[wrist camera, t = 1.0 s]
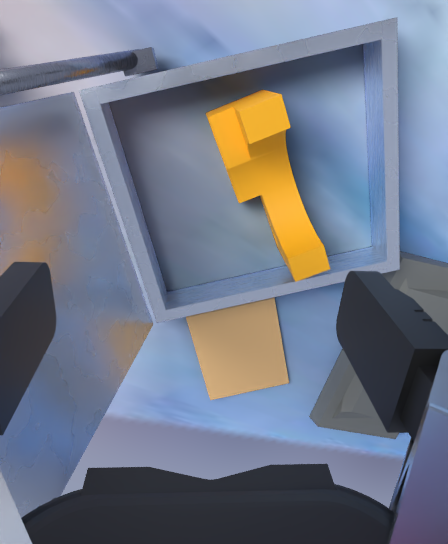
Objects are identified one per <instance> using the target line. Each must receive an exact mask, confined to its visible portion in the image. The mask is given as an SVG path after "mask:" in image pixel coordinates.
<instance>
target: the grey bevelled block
mask: <svg viewBox="0 0 448 544" xmlns="http://www.w3.org/2000/svg"><path fill="white" fill-rule="evenodd" d="M399 253H400V270H395V271H391V272H386V273H382V275H383V276H384V278H385V279H386V280H387V281H388V282H389V283H390V284H391V285H392V286H393V288H394V289H398V290H399V291H401V292H403V293H404V294H406V295H408V296H410V297H411V298H413V299H414V300H415V301H416V302H417V303H418V304H419V305H420V306H421V307H422V308H423V309H424V312H426V313H427V314H428V315H429V316H430V317H431V318H432V319H433V322H436V323H437V324H438V325H439V326H440V327H441V328H442V330H443V331H444V332H445V333H446V334H447V335H448V263H445V262H441V261H437V260H433V259H429V258H425V257H421V256H417V255H413V254H409V253H405V252H401V251H399ZM309 417H310V418H311V419H312V420H313V422H314V423H315V424H316V425H317V426H318V427H324V428H330V429H336V430H343V431H349V432H355V433H361V434H367V435H373V436H379V437H386V438H392V439H396V437H397V436H398V434H399V433H387V431H386V429H385V427H384V425H383V423H382V421H381V420H380V418H379V416H378V414H377V412H376V410H375V408H374V406H373V405H372V403H371V401H370V399H369V397H368V395H367V393H366V391H365V389H364V388H363V386H362V384H361V382H360V380H359V378H358V376H357V374H356V373H355V371H354V369H353V367H352V365H351V363H350V361H349V359H348V357H347V356H346V354H345V352H344V350H343V349H342V351H341V353H340V355H339V357H338V359H337V361H336V363H335V365H334V367H333V369H332V371H331V373H330V375H329V377H328V379H327V381H326V383H325V385H324V387H323V389H322V391H321V393H320V396H319V398H318V400H317V402H316V404H315V406H314V408H313V410H312V412H311V414H310V416H309Z"/></svg>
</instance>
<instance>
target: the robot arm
mask: <svg viewBox="0 0 448 544" xmlns="http://www.w3.org/2000/svg"><path fill="white" fill-rule="evenodd" d="M55 330H56V309H55V302H54V295H53V288H52V281H51V274H50V269H49V266H48V264H47V263H45V262H13V263H12V264H11V265H10V266H9V268H8V269H7V270H6V271H5V272H4V273H3V274H2V275H1V276H0V435H3V434H4V432H5V430H6V428H7V426H8V425H9V423H10V421H11V419H12V417H13V415H14V413H15V411H16V409H17V407H18V405H19V403H20V401H21V399H22V397H23V395H24V394H25V392H26V390H27V388H28V386H29V384H30V382H31V380H32V378H33V376H34V374H35V372H36V370H37V368H38V366H39V364H40V362H41V361H42V359H43V357H44V355H45V353H46V351H47V349H48V347H49V345H50V343H51V341H52V339H53V337H54V334H55ZM336 330H337V337H338V340H339V342H340V344H341V346H342V348H343V350H344V352H345V354H346V356H347V357H348V359H349V361H350V363H351V365H352V367H353V369H354V371H355V373H356V374H357V376H358V378H359V380H360V382H361V384H362V386H363V388H364V389H365V391H366V393H367V395H368V397H369V399H370V401H371V403H372V405H373V406H374V408H375V410H376V412H377V414H378V416H379V418H380V420H381V421H382V423H383V425H384V427H385V429H386V431H387V433H405V432H408V433H409V434H410V436H411V440H410V443H409V446H408V448H407V451H406V455H405V458H404V461H403V464H402V468H401V471H400V474H399V477H398V480H397V483H396V487H395V490H394V493H393V496H392V500H391V503H390V506H389V508H387V507H386V506H384V505H383V504H381V503H379V502H377V501H376V500H374V499H372V498H370V497H368V496H366V495H364V494H362V493H359V492H357V491H355V490H352V489H349V488H346V487H343V486H340V485H336V484H334V482H333V479H332V476H331V474H330V470H329V468H328V465H327V464H294V465H269V466H265V467H261V468H257V469H253V470H250V471H246V472H242V473H238V474H235V475H231V476H227V477H223V478H220V479H215V480H207V479H201V478H197V477H192V476H188V475H183V474H179V473H174V472H169V471H165V470H160V469H156V468H151V467H121V468H88V470H87V474H86V477H85V481H84V485H83V489H80V490H77V491H73V492H70V493H68V494H65V495H63V496H60V497H57V498H55V499H53V500H51V501H49V502H47V503H45V504H43V505H41V506H39V507H37V508H36V509H34V510H32V511H31V512H29V513H27V514H26V515H25V516H23V517H22V518H21V517H20V515H19V512H18V510H17V508H16V505H15V503H14V501H13V498H12V496H11V494H10V492H9V489H8V487H7V485H6V482H5V480H4V478H3V475H2V473H1V471H0V544H448V335H447V334H446V333H445V332H444V331H443V330H442V328H441V327H440V326H439V325H438V324H437V323H436V322H433V319H432V318H431V317H430V316H429V315H428V314H427V313H426V312H424V309H423V308H422V307H421V306H420V305H419V304H418V303H417V302H416V301H415V300H414V299H413V298H411V297H410V296H408V295H406V294H404V293H403V292H401V291H399V290H398V289H394V288H393V286H392V285H391V284H390V283H389V282H388V281H387V280H386V279H385V278H384V276H383V275H382V274H381V273H380V272H378V271H350V272H349V273H348V274H347V276H346V279H345V284H344V288H343V293H342V298H341V302H340V307H339V312H338V316H337V323H336Z"/></svg>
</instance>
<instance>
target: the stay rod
mask: <svg viewBox="0 0 448 544" xmlns="http://www.w3.org/2000/svg"><path fill="white" fill-rule="evenodd" d="M137 50H140V49H136V50H130V51H123V52H116V53H109V54H103V55H96V56H89V57H82V58H76V59H69V60H62V61H55V62H49V63H42V64H35V65H28V66H22V67H15V68H8V69H1V70H0V95H3V94H8V93H13V92H18V91H23V90H29V89H34V88H39V87H44V86H49V85H54V84H59V83H64V82H69V81H74V80H79V79H84V78H89V77H94V76H99V75H104V74H110V73H115V72H120V71H125V70H130V69H133V68H134V67H135V66H136V65H137V63H138V58H137V56H136V54H135V53H133V52H132V51H137Z"/></svg>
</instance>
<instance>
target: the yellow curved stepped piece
mask: <svg viewBox="0 0 448 544" xmlns="http://www.w3.org/2000/svg"><path fill="white" fill-rule="evenodd" d="M206 116H207V118H208V121H209V124H210V127H211V129H212V132H213V135H214V137H215V140H216V143H217V146H218V148H219V151H220V154H221V156H222V159H223V162H224V165H225V167H226V170H227V173H228V175H229V178H230V181H231V184H232V186H233V189H234V192H235V194H236V197H237V199H238V202H239V203H242V202H244V201H247V200H249V199H252V198H255V197H257V196H260V198H261V201H262V204H263V207H264V210H265V213H266V216H267V219H268V221H269V224H270V227H271V230H272V233H273V236H274V239H275V242H276V245H277V248H278V250H279V252H280V253H281V255H282V257H283V259H284V261H285V263H286V265H287V267H288V269H289V271H290V272H291V274H292V276H293V278H294V280H295V282H297V281H299V280H302V279H305V278H308V277H310V276H313V275H316V274H318V273H321V272H324V271H327V270H329V269H330V266H329V262H328V258H327V255H326V251H325V248H324V245H323V244H322V242H321V241H320V239H319V237H318V236H317V234H316V232H315V230H314V228H313V226H312V224H311V222H310V220H309V218H308V215H307V213H306V211H305V208H304V206H303V203H302V201H301V198H300V195H299V192H298V189H297V186H296V183H295V180H294V177H293V173H292V170H291V166H290V162H289V158H288V153H287V147H286V129H289V128H291V127H290V123H289V119H288V116H287V112H286V109H285V105H284V102H283V98H282V95H281V94H278V93H274V92H270V91H266V90H260V91H258V92H256V93H253V94H251V95H248V96H246V97H243V98H241V99H238V100H236V101H234V102H231V103H229V104H226V105H224V106H221V107H219V108H216V109H214V110H211V111H209V112H207V113H206Z"/></svg>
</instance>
